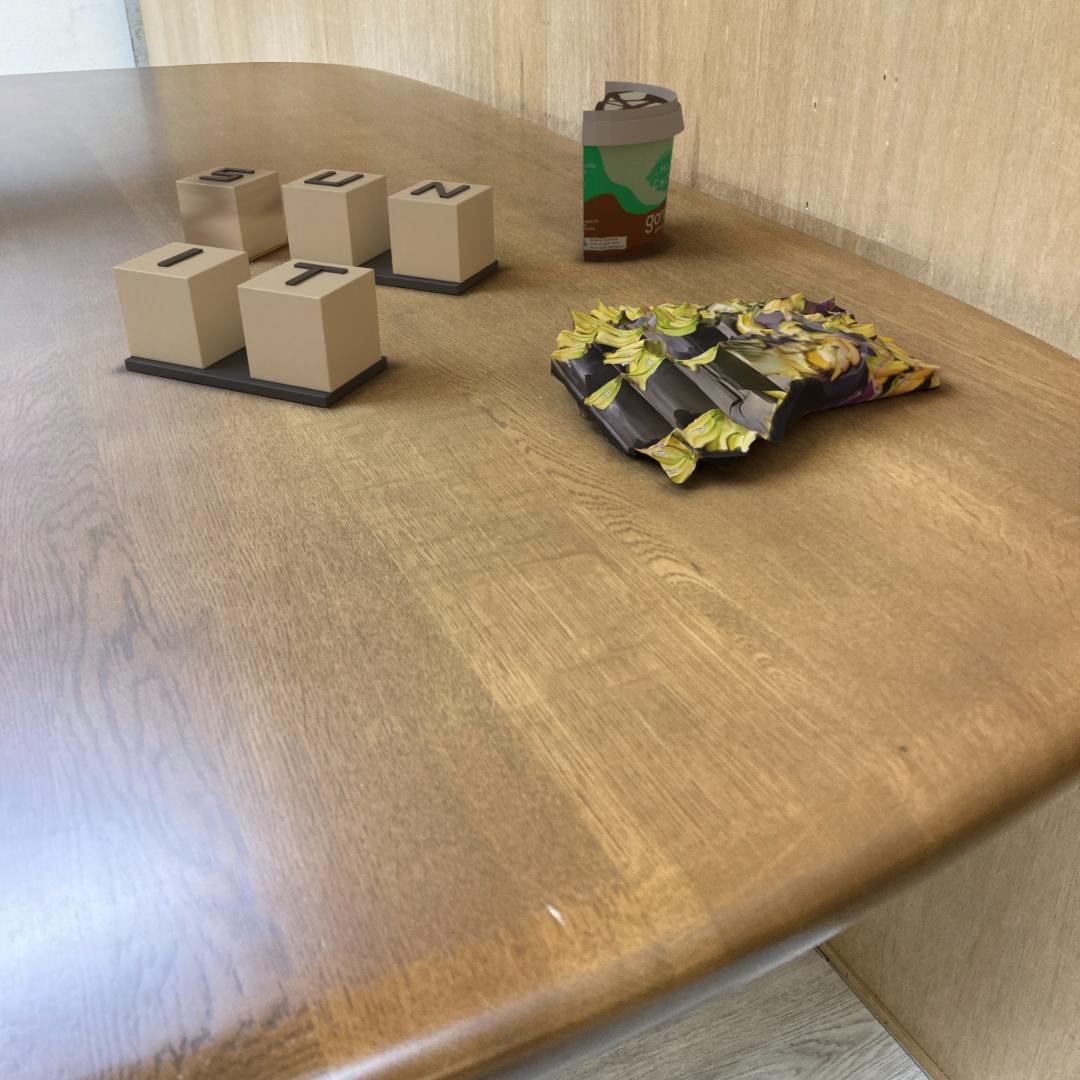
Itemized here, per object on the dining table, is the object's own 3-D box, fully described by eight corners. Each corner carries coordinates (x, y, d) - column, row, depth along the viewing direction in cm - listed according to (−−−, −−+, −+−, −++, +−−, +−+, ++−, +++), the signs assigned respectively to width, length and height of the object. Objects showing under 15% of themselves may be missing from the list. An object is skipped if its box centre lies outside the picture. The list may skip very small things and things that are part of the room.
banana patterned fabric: (816, 327, 69) (861, 230, 65) (973, 508, 59) (1039, 406, 54) (512, 324, 61) (541, 213, 57) (631, 533, 51) (677, 416, 46)
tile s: (187, 252, 81) (174, 178, 78) (230, 234, 84) (220, 162, 82) (245, 261, 79) (234, 184, 76) (287, 241, 83) (278, 168, 80)
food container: (671, 271, 76) (679, 114, 71) (580, 267, 77) (581, 112, 72) (684, 221, 87) (691, 81, 81) (603, 218, 87) (606, 79, 82)
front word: (125, 369, 62) (104, 266, 59) (196, 333, 67) (179, 236, 64) (327, 408, 58) (314, 298, 55) (387, 366, 62) (379, 262, 59)
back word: (177, 255, 80) (162, 171, 77) (230, 233, 85) (218, 153, 82) (457, 295, 72) (453, 203, 69) (498, 268, 77) (496, 181, 74)
